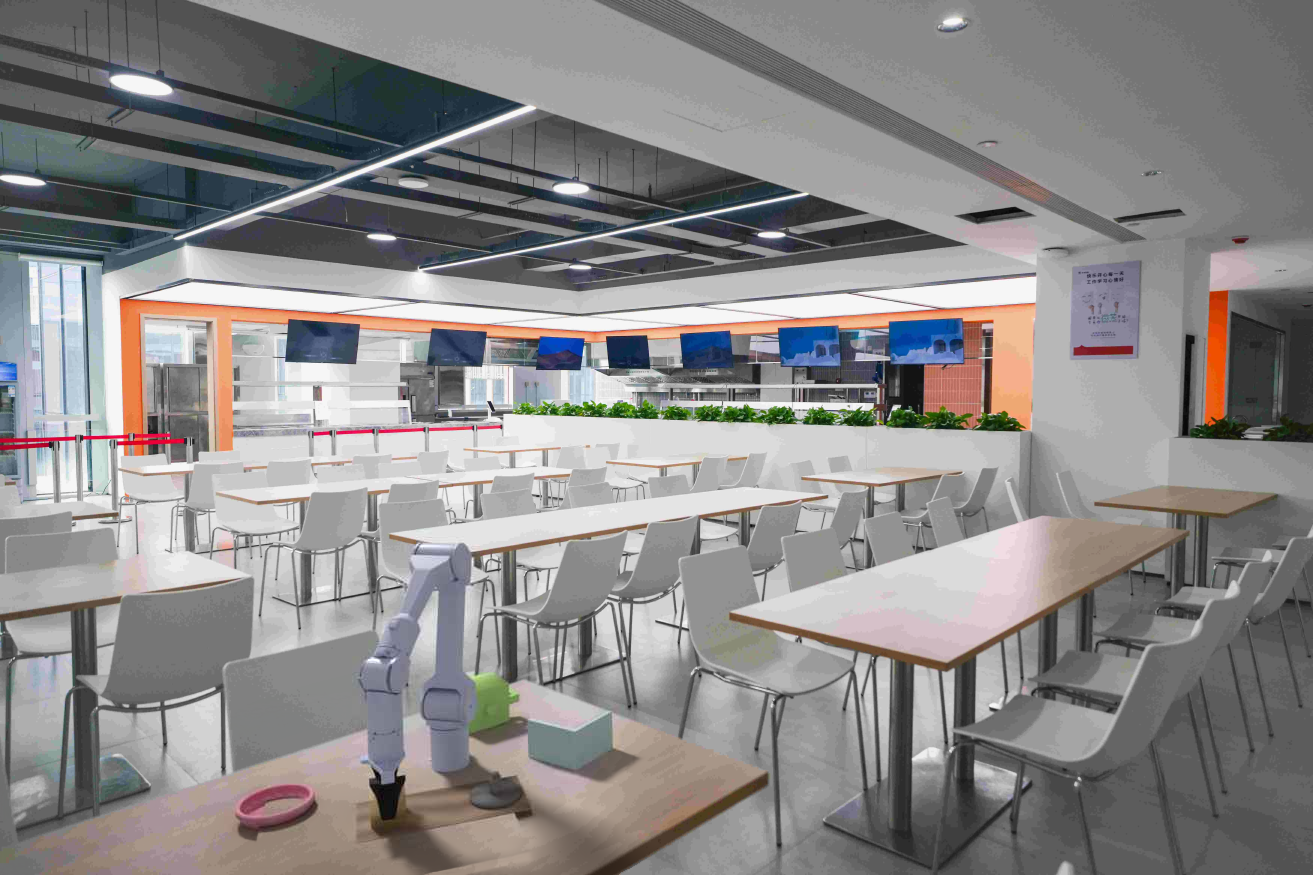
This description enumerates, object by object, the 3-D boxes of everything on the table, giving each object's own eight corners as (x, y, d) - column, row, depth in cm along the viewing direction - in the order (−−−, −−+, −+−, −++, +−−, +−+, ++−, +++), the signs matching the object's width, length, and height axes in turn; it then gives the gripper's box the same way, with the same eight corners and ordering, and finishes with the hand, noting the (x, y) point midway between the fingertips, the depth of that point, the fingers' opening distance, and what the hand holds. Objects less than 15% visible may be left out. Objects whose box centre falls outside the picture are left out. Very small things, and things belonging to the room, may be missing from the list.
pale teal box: (612, 747, 164) (612, 711, 164) (575, 770, 154) (574, 731, 154) (566, 736, 171) (565, 700, 171) (528, 757, 161) (527, 719, 161)
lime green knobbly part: (451, 745, 169) (449, 701, 168) (430, 729, 176) (428, 687, 175) (525, 720, 180) (524, 679, 180) (502, 707, 188) (502, 667, 187)
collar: (370, 811, 138) (369, 785, 138) (404, 805, 140) (403, 779, 140) (370, 827, 133) (369, 800, 132) (406, 820, 135) (405, 793, 134)
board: (356, 808, 141) (355, 779, 141) (516, 780, 151) (516, 752, 151) (356, 848, 128) (355, 816, 128) (532, 814, 138) (531, 784, 137)
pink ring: (235, 843, 131) (234, 823, 131) (235, 810, 142) (235, 792, 142) (318, 823, 137) (317, 805, 137) (312, 793, 148) (311, 776, 148)
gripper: (359, 716, 141) (362, 793, 141) (360, 748, 128) (362, 833, 128) (402, 711, 144) (404, 786, 144) (406, 741, 130) (409, 824, 130)
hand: (387, 808), depth 136 cm, fingers open, 7 cm apart
